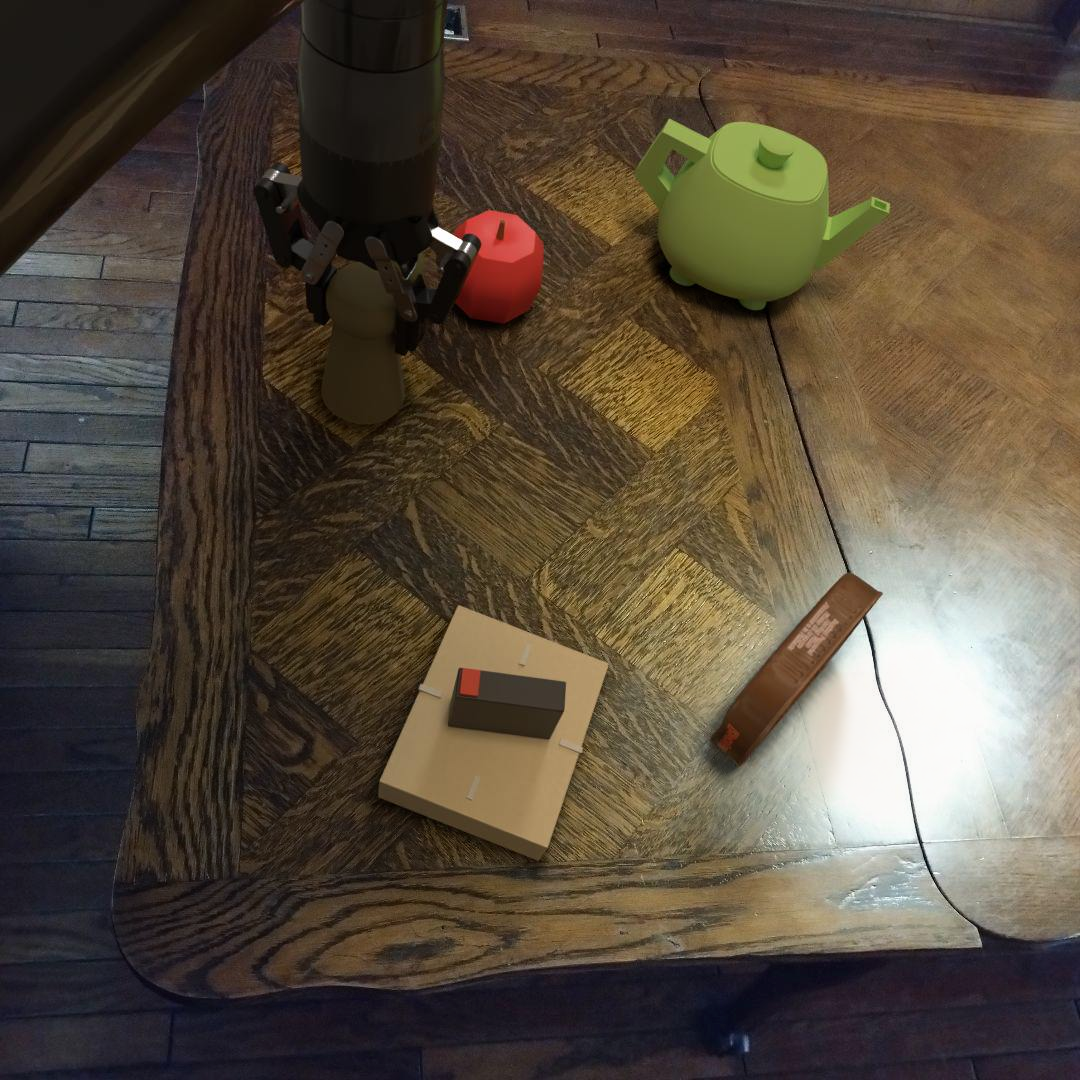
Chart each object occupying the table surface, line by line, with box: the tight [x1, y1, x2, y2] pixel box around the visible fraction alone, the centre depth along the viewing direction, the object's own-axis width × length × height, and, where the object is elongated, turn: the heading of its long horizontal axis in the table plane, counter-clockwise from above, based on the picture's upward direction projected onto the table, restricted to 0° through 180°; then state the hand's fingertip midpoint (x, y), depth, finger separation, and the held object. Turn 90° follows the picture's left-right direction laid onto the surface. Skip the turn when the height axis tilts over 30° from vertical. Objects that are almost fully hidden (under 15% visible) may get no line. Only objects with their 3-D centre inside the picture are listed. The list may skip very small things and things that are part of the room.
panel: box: [377, 604, 610, 861], centre depth 59 cm, size 12×10×3 cm
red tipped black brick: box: [448, 668, 566, 739], centre depth 55 cm, size 6×2×5 cm, turn 86°
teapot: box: [633, 118, 891, 311], centre depth 80 cm, size 20×13×13 cm
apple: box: [452, 209, 545, 324], centre depth 75 cm, size 8×8×8 cm
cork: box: [320, 261, 406, 425], centre depth 67 cm, size 6×6×11 cm
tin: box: [710, 572, 884, 768], centre depth 61 cm, size 15×3×8 cm, turn 137°
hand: (365, 330), depth 67 cm, fingers closed on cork, 5 cm apart
